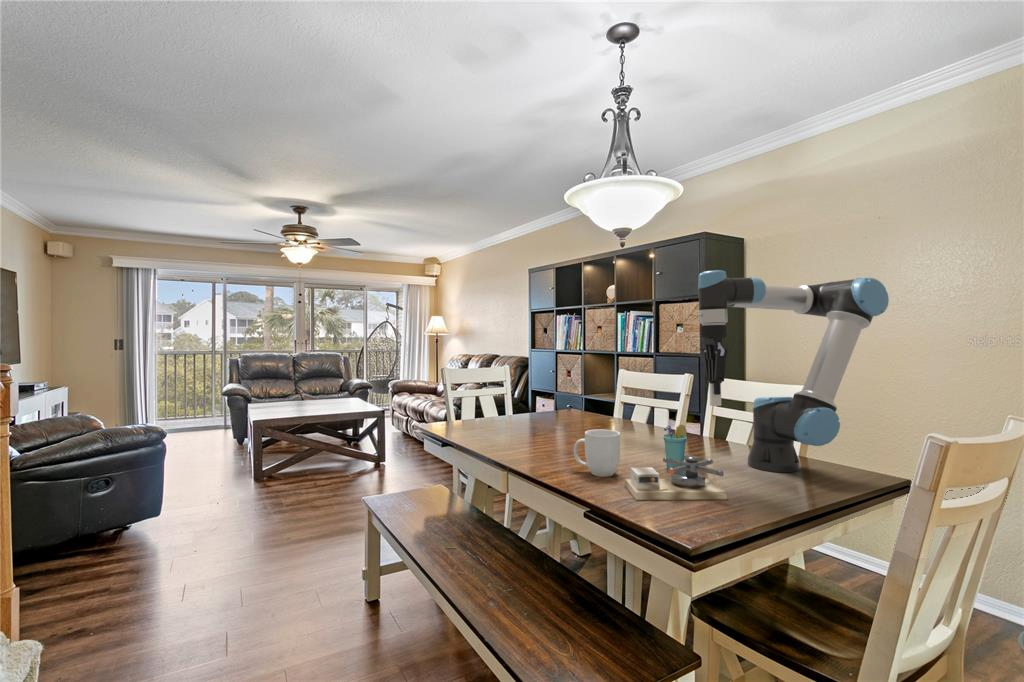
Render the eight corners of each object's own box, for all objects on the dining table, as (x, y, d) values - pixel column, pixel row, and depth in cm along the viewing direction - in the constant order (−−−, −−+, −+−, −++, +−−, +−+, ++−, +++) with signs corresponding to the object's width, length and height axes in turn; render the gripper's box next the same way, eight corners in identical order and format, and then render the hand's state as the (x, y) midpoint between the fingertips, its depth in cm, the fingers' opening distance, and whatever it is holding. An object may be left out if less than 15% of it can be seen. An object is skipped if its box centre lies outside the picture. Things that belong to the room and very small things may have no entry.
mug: (568, 474, 152) (568, 433, 152) (579, 466, 162) (579, 427, 161) (615, 481, 145) (615, 437, 145) (624, 471, 155) (624, 430, 155)
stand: (707, 485, 140) (707, 464, 140) (726, 499, 128) (726, 476, 128) (625, 486, 140) (624, 465, 140) (636, 499, 128) (636, 477, 128)
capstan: (743, 486, 132) (743, 459, 132) (701, 499, 121) (701, 470, 121) (683, 470, 147) (683, 446, 147) (641, 481, 136) (641, 455, 136)
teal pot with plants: (677, 476, 149) (677, 427, 149) (653, 472, 154) (653, 425, 154) (693, 467, 160) (693, 421, 160) (670, 463, 165) (670, 419, 165)
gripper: (692, 325, 148) (695, 402, 148) (708, 324, 135) (710, 409, 135) (717, 324, 147) (720, 401, 148) (735, 323, 134) (738, 408, 135)
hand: (715, 405), depth 141 cm, fingers closed
